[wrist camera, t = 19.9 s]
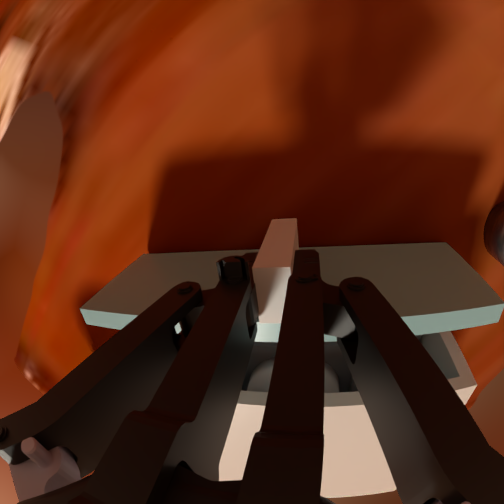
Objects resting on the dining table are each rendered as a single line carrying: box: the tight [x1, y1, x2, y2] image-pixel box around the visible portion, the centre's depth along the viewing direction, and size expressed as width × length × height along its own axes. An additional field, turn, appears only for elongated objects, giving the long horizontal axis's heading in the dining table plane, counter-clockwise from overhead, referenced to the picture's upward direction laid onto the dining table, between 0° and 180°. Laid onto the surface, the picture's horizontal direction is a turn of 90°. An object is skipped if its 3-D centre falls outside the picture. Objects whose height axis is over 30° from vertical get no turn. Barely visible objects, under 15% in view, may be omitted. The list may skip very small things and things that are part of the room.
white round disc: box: [247, 357, 339, 393], centre depth 22 cm, size 8×8×2 cm
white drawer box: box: [219, 331, 477, 498], centre depth 21 cm, size 20×24×10 cm
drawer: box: [80, 242, 504, 393], centre depth 20 cm, size 24×24×9 cm
